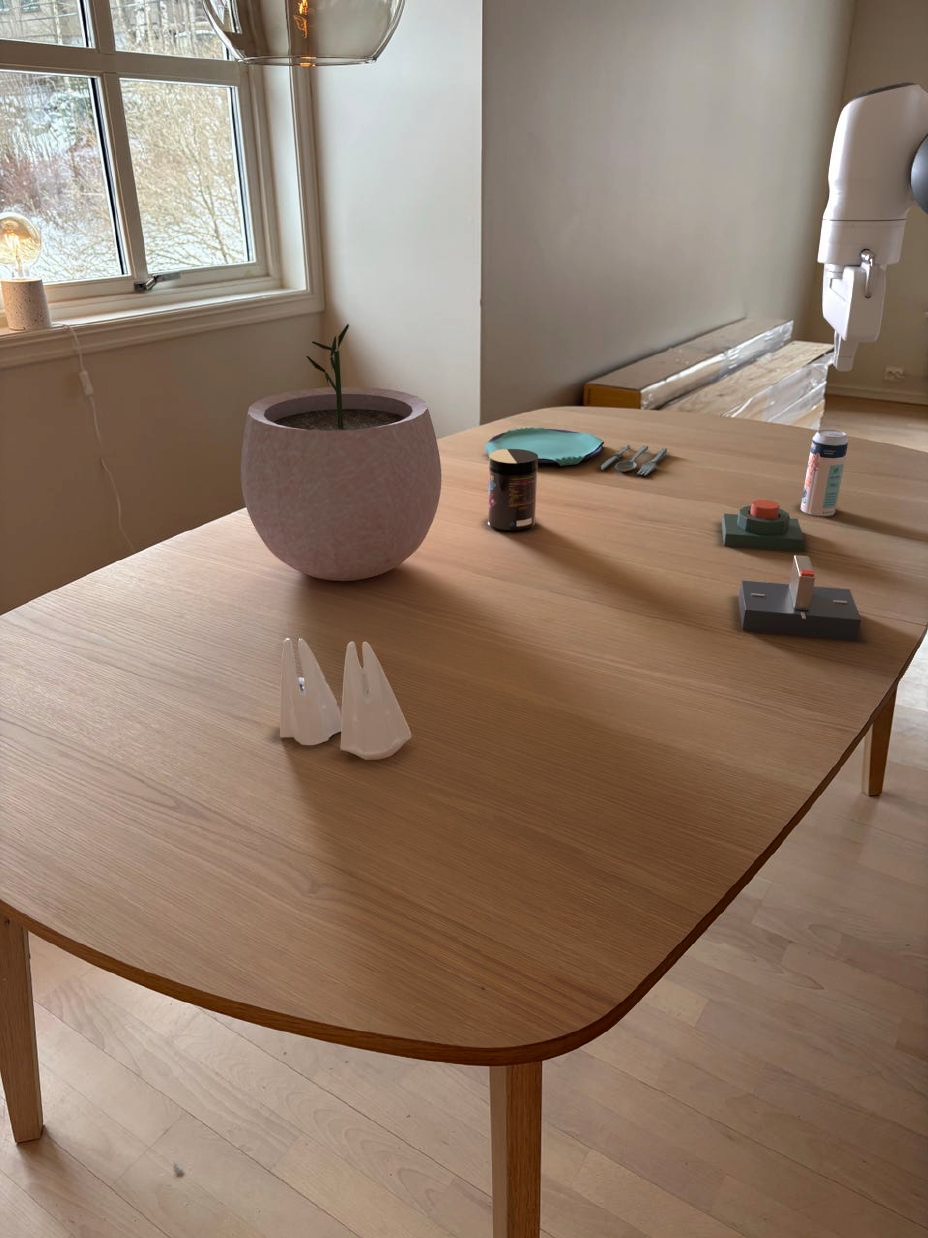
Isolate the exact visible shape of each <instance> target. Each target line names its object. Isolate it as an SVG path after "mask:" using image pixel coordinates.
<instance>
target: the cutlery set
mask: <svg viewBox="0 0 928 1238" xmlns="http://www.w3.org/2000/svg"><path fill="white" fill-rule="evenodd" d="M604 445H605V441H604V440H602V439H601V438H599V437H598V436H597V435H593V434H592V433H589V432H577V431H572V430H567V429H558V428H557V429H556V428H545V427H540V426H537V427H536V426H535V427H533V426H531V427H525V428H523V427H521V428H515V429H508V430H507V431H505V432H501V433H499V434H497V435H494V436H492V437H491V438H490V439H489V440H488V441H487V442H486V444H485V446H484V447H485V448H484V449H485V452H486V454H487V455H488V456H489V454H490V453H491V452H494V451H497V450H502V449H522V450H528V451H532V452H534V453H536V454H537V455H538V464H558V465H559V466H560V467H563V466H570V465H571V466H574V465H578V464H579V463H581V461H583V460H588V459H591V458H593V457H594V456H596V455H598V454H600V453H601V451H602V449H604ZM627 450H631V445H630V444H626V446H625V447H623V449H621V450H619V451H616V452H615V453H614V452H613V453H612V456H611V457H610V458H608V459H607V460H605V462H603V463H602V464H601V465H600V469H601V470H602V471H604V470H605V469H607V468H608V467H609V466H610V465H611V464H612V463H614V462H615V461H619V462H618V463H616V464H615V466H614V468H615V469H616V470H617V471H618V472H623V473H628V472H631V471H634V470H635V469H637V463H636V462H635V461H636V460H637V459H638V458H639V457H640V456H641V455H642V454H644V453H645V452H646V451H648V450H649V445H643V446H642V447H640V449H639V450H637V452H636V453H635V455H634V456H633V457H632V458H631V460H623V461H620V458H621V457H622V454H624V453H625V451H627ZM667 450H668V448H666V447H662V449H661V450H660V451H659V452H658V453H657V455H655V457H654V458H652V459H650V460H648V462H643V464H642V465H641V466H640V469H639V470H638V472H637V473H636V475H640V476H647V475H648V474H650V473H652V472H653V471H654V470H655V469H656V463H658V462H659V461H660V460H661V459H662V458H663V456H665V455H666V454H667V452H668V451H667ZM623 468H629V469H625V470H624V469H623Z"/></svg>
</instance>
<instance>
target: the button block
mask: <svg viewBox="0 0 928 1238" xmlns="http://www.w3.org/2000/svg"><path fill="white" fill-rule="evenodd" d="M750 512H751V505H745V506H744V507H742V508H740V509H739V510H738V514H737V513H723V514H722V521H721V531H722V532H721V533H722V541H723V546H724V547H733V548H734V547H736V548H749V549H759V550H760V549H761V550H762V549H763V550H774V551H785V552H799V553H802V552H803V550H804V549H803V548H804V543H805V538H804V535H803V531H802V528H801V526H800V525H801V524H800V522H799V520H798V518H793V517H791V516H790V513H789V512H787V511H786V510H784V509H782V508H779V513H778V518H776V519H761V518H757V517H753V516H751V515H750Z"/></svg>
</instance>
